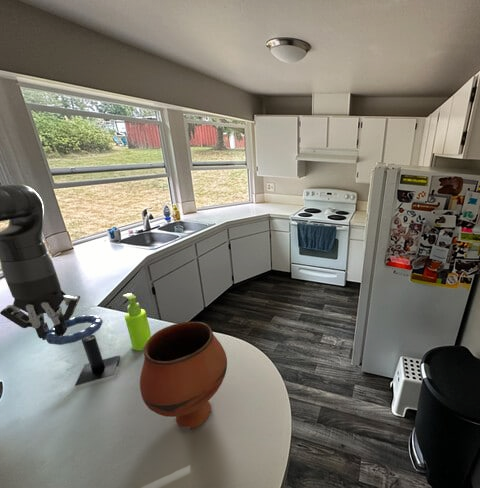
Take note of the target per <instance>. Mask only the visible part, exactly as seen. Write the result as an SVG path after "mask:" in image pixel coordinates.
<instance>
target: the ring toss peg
mask: <svg viewBox="0 0 480 488" xmlns="http://www.w3.org/2000/svg"><path fill="white" fill-rule="evenodd" d="M81 343H82V346H83V349H84V352H85V355H86V357H87V361H88V363H84V365H83V368H82V370H81V371H80V373H79V376H78V378H77V380H76V381H75V384H74V387H76V386H79V385H83V384H87V383H90V382H94V381H98V380H100V379H104V378H108V377H111V376H114V375H115V371H116V368H117V367H118V366H119V363H120V361H121V355H115V356H110V357H108V358H103V356H102V352H101V349H100V347H99V344H98V341H97V337H96V335H94V334H92V335H90V336H89V337H86V338H84V339H82V340H81Z"/></svg>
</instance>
